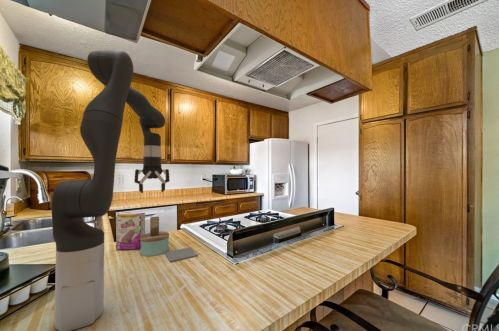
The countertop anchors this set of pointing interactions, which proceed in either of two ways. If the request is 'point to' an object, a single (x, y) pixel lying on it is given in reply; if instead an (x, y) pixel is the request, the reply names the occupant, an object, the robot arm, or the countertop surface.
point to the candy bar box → (129, 230)
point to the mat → (180, 254)
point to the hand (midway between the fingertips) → (152, 192)
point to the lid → (154, 232)
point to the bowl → (154, 247)
